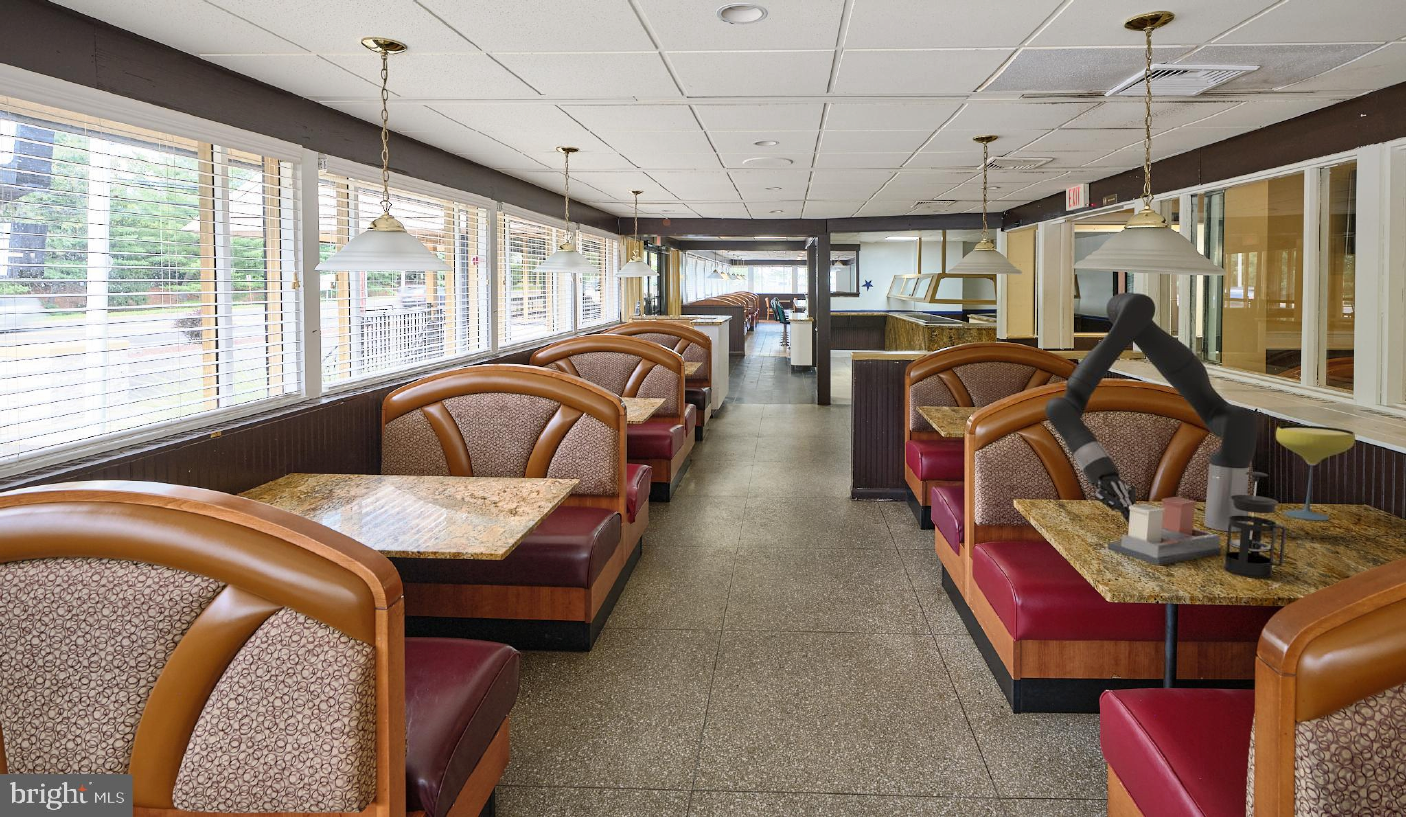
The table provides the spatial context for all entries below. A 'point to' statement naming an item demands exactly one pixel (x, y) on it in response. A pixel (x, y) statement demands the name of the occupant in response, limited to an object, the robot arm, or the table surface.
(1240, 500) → the french press
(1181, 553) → the dark grey tray
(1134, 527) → the white tall block
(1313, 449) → the cocktail glass
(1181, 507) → the pink boxy piece
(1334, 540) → the table surface
